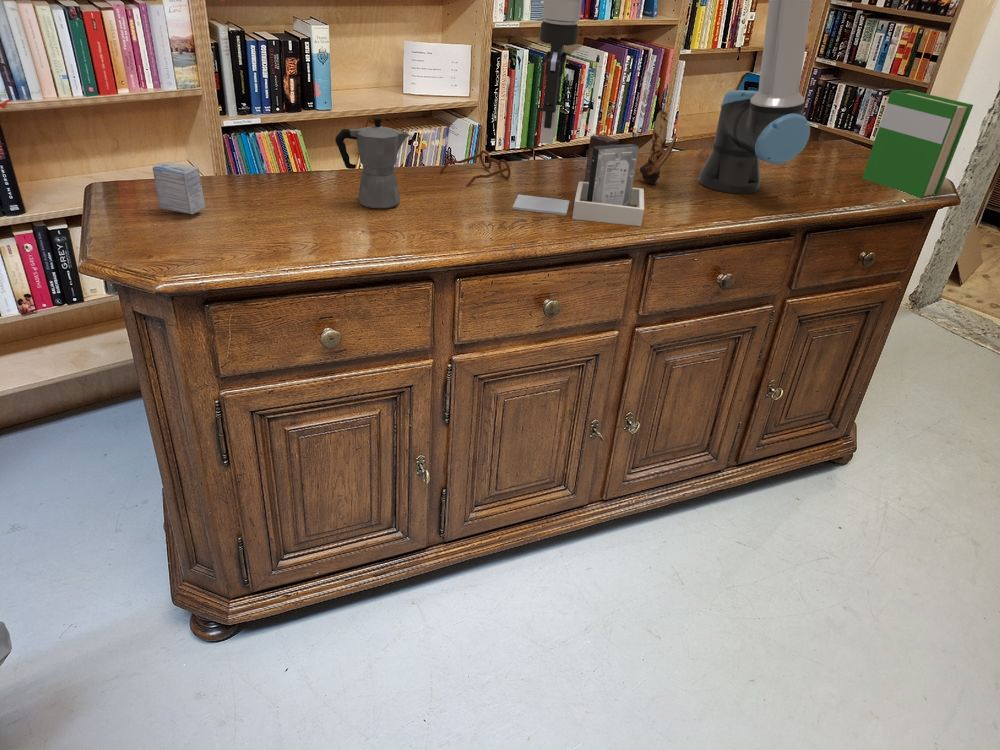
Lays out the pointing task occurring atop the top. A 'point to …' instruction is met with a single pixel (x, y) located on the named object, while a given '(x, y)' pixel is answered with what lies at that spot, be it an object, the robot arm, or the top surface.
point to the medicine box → (178, 187)
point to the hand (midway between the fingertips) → (547, 139)
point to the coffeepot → (375, 162)
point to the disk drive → (612, 174)
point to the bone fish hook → (657, 150)
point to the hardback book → (916, 142)
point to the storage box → (609, 208)
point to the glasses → (483, 166)
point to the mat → (541, 204)
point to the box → (597, 141)
